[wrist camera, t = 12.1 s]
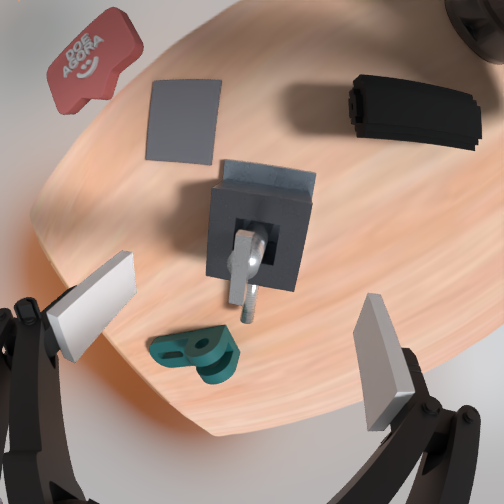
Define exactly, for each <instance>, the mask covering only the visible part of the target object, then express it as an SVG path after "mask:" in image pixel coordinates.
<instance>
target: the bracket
mask: <svg viewBox="0 0 504 504" xmlns="http://www.w3.org/2000/svg"><path fill="white" fill-rule="evenodd" d="M173 351H176V352H173ZM149 352H150V355H151V356H152V358H153V359H154V360H155V361H156V362H157V363H159V364H160V365H162V366H165V367H169V368H174V367H185V366H196V370H197V372H198V374H199V375H200V377H201V378H202V379H203V381H204V382H205V383H207V384H219V383H222V382H224V381H226V380H227V379H229V378H230V377H231V376H232V375H233V374H234V372H235V370H236V367H237V363H238V359H239V356H240V351H239V349H238V347H237V345H236V343H235V341H234V339H233V337H232V336H231V334H230V332H229V330H228V328H227V326H226V325H221V326H216V327H211V328H206V329H201V330H195V331H190V332H184V333H178V334H172V335H166V336H160V337H157V338H155V340H154V341H153V343H152V344H151V346H150V348H149ZM166 352H168V353H166Z"/></svg>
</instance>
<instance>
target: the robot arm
mask: <svg viewBox="0 0 504 504" xmlns="http://www.w3.org/2000/svg"><path fill="white" fill-rule="evenodd" d="M445 6H446V10H447V13H448V16H449V18H450V20H451V22H452V24H453V26H454V28H455V29H456V31H457V32H458V34H459V35H460V36H461V38H462V39H463V40H464V42H465V43H466V44H467V45H468V46H469V47H470V48H471V49H472V50H473V51H474V52H475V53H476V54H478V55H479V56H480V57H481V58H483V59H484V60H486V61H488V62H490V63H493V64H497V65H502V64H504V0H445ZM136 293H137V289H136V281H135V272H134V262H133V252H128V251H123V250H122V251H120V252H119V253H118V254H116V255H115V256H114V257H113V258H111V259H110V260H109V261H107V262H106V263H105V264H104V265H102V266H101V267H100V268H98V269H97V270H96V271H95V272H93V273H92V274H91V275H90V276H88V277H87V278H86V279H85V280H84V281H82V282H81V283H80V284H79V285H78V286H77V285H76V286H73V287H71V288H69V289H67V290H66V291H65V292H64V293H63V294H62V295H61V296H59V297H58V298H57V300H54V301H53V302H52V303H51V304H50V305H49V306H47V307H46V308H45V309H44V310H43V311H42V312H41V313H40V310H39V307H38V304H37V301H36V300H35V299H34V298H32V297H26V298H23V299H21V300H19V301H18V302H17V303H16V304H15V305H14V310H15V312H16V315H17V318H15V317H13V315H12V313H11V310H10V309H8V308H1V309H0V478H1V471H2V463H3V471H4V479H5V486H6V492H7V498H8V503H9V504H99V503H97V502H95V501H93V500H91V499H89V500H88V501H86V499H85V497H84V494H83V492H82V490H81V488H80V486H79V485H78V483H77V481H76V479H75V477H74V473H73V469H72V465H71V461H70V456H69V451H68V446H67V440H66V435H65V428H64V422H63V414H62V405H61V396H60V382H59V362H58V361H59V359H58V355H57V352H58V351H59V350H61V352H62V354H63V356H64V358H66V359H67V360H69V361H71V362H74V363H76V362H77V360H78V359H79V358H80V357H81V356H82V354H83V353H84V352H85V351H86V350H87V348H88V347H89V346H90V345H91V344H92V343H93V341H94V340H95V339H96V338H97V337H98V336H99V334H100V333H101V332H102V331H103V330H104V329H105V327H106V326H107V325H108V324H109V323H110V322H111V321H112V320H113V318H114V317H115V316H116V315H117V314H118V313H119V312H120V311H121V309H122V308H123V307H124V306H125V305H126V304H127V303H128V302H129V301H130V300H131V298H132V297H133V296H134V295H135V294H136ZM353 336H354V341H355V347H356V352H357V358H358V364H359V370H360V376H361V383H362V390H363V397H364V405H365V413H366V421H367V430H368V431H384V430H385V429H386V428H387V426H388V425H389V424H390V426H391V432H390V433H389V434H388V435H387V436H386V437H385V439H384V440H383V441H382V442H381V445H380V446H379V447H378V449H377V450H376V451H375V452H374V454H373V455H372V456H371V457H370V458H369V460H368V461H367V462H366V463H365V464H364V466H363V467H362V468H361V469H360V470H359V471H358V472H357V473H356V474H355V475H354V477H353V478H352V479H351V480H350V481H349V482H348V483H347V484H346V485H345V486H344V487H343V488H342V489H341V490H340V491H339V492H338V493H337V494H336V495H335V496H334V497H333V498H332V499H331V500H330V501H329V502H328V503H327V504H388V503H389V502H390V501H391V500H392V498H393V497H394V496H395V494H396V493H397V492H398V490H399V489H400V487H401V486H402V484H403V483H404V482H405V480H406V478H407V477H408V476H409V474H410V472H411V471H412V469H413V468H414V466H415V465H416V463H417V461H418V460H419V458H420V456H421V454H422V453H423V455H422V459H421V462H420V465H419V468H418V472H417V474H416V477H415V480H414V483H413V486H412V489H411V491H410V494H409V497H408V499H407V501H406V504H469V500H470V496H471V491H472V486H473V481H474V476H475V470H476V464H477V457H478V448H479V438H480V425H481V419H480V415H479V413H478V411H477V410H476V409H475V408H474V407H472V406H469V405H464V406H462V407H461V408H460V409H459V410H458V411H457V412H455V411H450V410H446V409H443V408H442V405H441V404H440V402H439V401H438V400H437V399H436V398H434V397H432V396H430V395H429V392H428V389H427V386H426V383H425V380H424V377H423V374H422V373H421V369H420V366H419V363H418V360H417V358H416V356H415V354H414V353H413V352H412V351H411V350H410V348H401V346H400V343H399V341H398V338H397V335H396V332H395V330H394V327H393V324H392V322H391V319H390V317H389V314H388V311H387V309H386V306H385V304H384V301H383V299H382V297H381V295H380V294H373V293H367V296H366V299H365V302H364V305H363V308H362V310H361V313H360V316H359V318H358V321H357V324H356V326H355V329H354V331H353ZM3 346H4V348H5V350H6V351H5V353H4V354H3V352H2V348H3ZM8 425H9V439H10V451H9V452H6V453H4V448H5V441H6V435H7V430H8ZM0 504H3V502H2V500H1V499H0Z"/></svg>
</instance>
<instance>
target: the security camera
mask: <svg viewBox="0 0 504 504" xmlns="http://www.w3.org/2000/svg"><path fill="white" fill-rule="evenodd" d="M353 85H354V87H353V88H352V90H351V91H350V92H349V97H350V98H349V99H348V101H349V116H350V118H351V124H354V125H355V131H357V138H374V139H388V140H400V141H410V142H418V143H427V144H434V145H441V146H448V147H454V148H460V149H466V150H472V151H475V145H478V139H482V124H481V108H480V107H479V106H477V103H476V101H475V100H473V97H472V95H470V94H467V93H463V92H460V91H456V90H452V89H448V88H444V87H440V86H435V85H431V84H426V83H421V82H415V81H410V80H404V79H397V78H390V77H382V76H373V75H362V74H360V75H359V76H358V77H357V78H356V79H355V80H354V81H353Z"/></svg>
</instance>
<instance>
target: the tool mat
mask: <svg viewBox="0 0 504 504" xmlns="http://www.w3.org/2000/svg"><path fill="white" fill-rule="evenodd" d="M221 84H222V80H206V79H186V80H159V81H154V83H153V91H152V99H151V107H150V117H149V127H148V140H147V155H146V160H157V161H171V162H183V163H194V164H204V165H212V158H213V149H214V140H215V131H216V122H217V114H218V106H219V98H220V91H221Z"/></svg>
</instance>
